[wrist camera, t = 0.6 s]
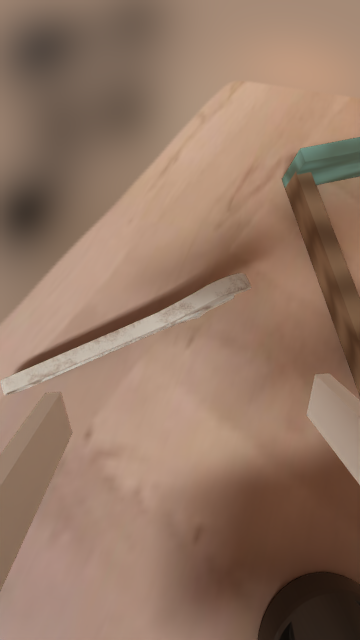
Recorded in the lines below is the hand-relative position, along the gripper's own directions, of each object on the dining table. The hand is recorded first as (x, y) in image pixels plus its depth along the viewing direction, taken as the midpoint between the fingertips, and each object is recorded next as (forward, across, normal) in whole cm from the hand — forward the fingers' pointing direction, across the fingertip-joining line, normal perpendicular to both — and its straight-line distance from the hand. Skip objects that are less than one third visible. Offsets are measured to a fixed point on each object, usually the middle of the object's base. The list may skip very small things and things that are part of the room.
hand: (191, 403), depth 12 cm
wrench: (+17, +6, +4) cm, 19 cm away
